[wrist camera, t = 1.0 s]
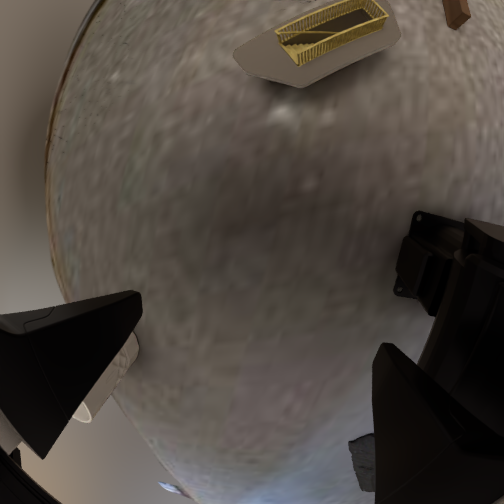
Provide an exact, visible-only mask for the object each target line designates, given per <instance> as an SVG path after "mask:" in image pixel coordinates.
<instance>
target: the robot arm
mask: <svg viewBox="0 0 504 504" xmlns="http://www.w3.org/2000/svg"><path fill="white" fill-rule="evenodd" d="M417 215H421V216H422V219H421V220H420V221H417V219H416V217H417ZM396 272H397V274H398V276H397V279H396V282H395V286H394V289H393V291H394V294H395V295H396V296H401V297H407V298H414V299H418V300H419V301H420V303H421V304H422V306H423V307H424V309H425V310H426V312H427V313H428V315H430V316H435V317H436V318H435V321H434V323H433V326H432V329H431V331H430V334H429V337H428V339H427V342H426V344H425V347H424V349H423V351H422V354H421V356H420V358H419V360H418V363H417V364H415V363H414V362H413V361H412V360H411V359H410V358H409V357H408V356H406V355H405V354H404V353H403V352H402V351H401V350H400V349H398V348H397V347H396V346H395V345H394V344H392V343H382V344H381V345H380V347H379V349H378V351H377V354H376V356H375V358H374V360H373V364H372V409H373V422H374V439H375V504H504V226H500V225H496V224H491V223H487V222H482V221H478V220H473V219H468V218H465V223H462V222H458V221H455V220H452V219H448V218H445V217H441V216H438V215H434V214H430V213H427V212H423V211H416V212H415V213H414V214H413V218H412V222H411V227H410V231H409V235H408V236H406V237H405V238H404V239H403V243H402V247H401V251H400V255H399V259H398V262H397V266H396ZM399 287H402V291H401V292H397V289H398V288H399ZM142 313H143V308H142V297H141V294H140V293H139V292H137V291H134V290H128V291H123V292H119V293H114V294H110V295H105V296H100V297H96V298H91V299H86V300H82V301H77V302H72V303H68V304H63V305H58V306H56V307H54V306H53V307H49V308H44V309H38V310H32V311H26V312H19V313H10V314H3V315H0V504H62V503H61V502H59V501H58V500H57V499H55V498H54V497H53V496H52V495H50V494H49V493H48V492H47V491H46V490H44V489H43V488H42V487H41V486H40V485H39V484H37V482H35V481H34V480H33V479H32V478H31V477H30V476H29V475H28V474H27V473H26V472H25V471H24V470H23V469H22V467H21V456H20V450H19V449H18V448H17V446H18V445H19V444H20V443H21V441H23V442H24V443H25V444H26V445H27V446H28V447H29V448H30V449H31V450H32V451H33V452H34V453H35V454H36V455H37V456H39V457H40V458H41V459H42V460H43V459H44V458H45V457H46V455H47V454H48V452H49V451H50V449H51V448H52V446H53V445H54V443H55V441H56V440H57V438H58V437H59V435H60V434H61V432H62V431H63V429H64V428H65V426H66V425H67V423H68V422H69V420H70V419H71V417H72V416H73V415H74V413H75V412H76V410H77V409H78V407H79V406H80V404H81V403H82V402H83V400H84V399H85V397H86V396H87V395H88V393H89V392H90V390H91V389H92V388H93V386H94V385H95V383H96V382H97V381H98V379H99V378H100V377H101V375H102V374H103V372H104V371H105V370H106V368H107V367H108V366H109V364H110V363H111V362H112V360H113V359H114V358H115V356H116V355H117V354H118V352H119V351H120V350H121V348H122V347H123V346H124V344H125V343H126V341H127V339H128V338H129V336H130V334H131V333H132V331H133V330H134V328H135V326H136V325H137V323H138V321H139V320H140V318H141V316H142Z"/></svg>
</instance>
